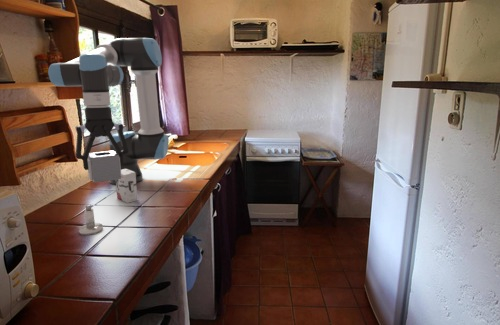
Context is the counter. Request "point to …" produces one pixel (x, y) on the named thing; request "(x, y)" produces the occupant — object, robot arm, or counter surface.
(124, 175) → the ink box
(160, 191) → the counter surface
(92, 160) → the block
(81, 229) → the hub
